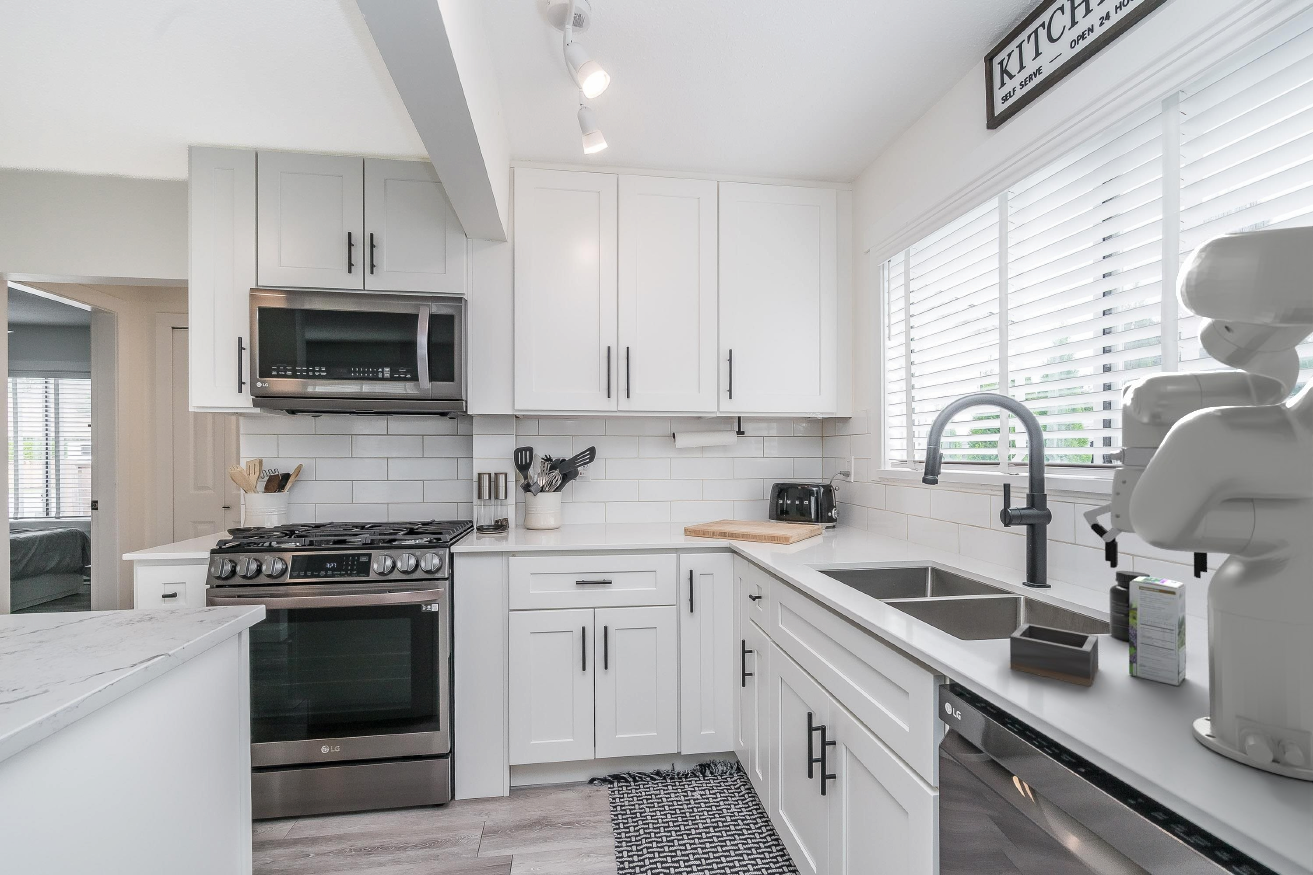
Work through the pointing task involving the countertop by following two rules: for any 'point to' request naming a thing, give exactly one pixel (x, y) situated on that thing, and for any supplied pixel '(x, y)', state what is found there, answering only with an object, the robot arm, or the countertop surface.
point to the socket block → (1054, 653)
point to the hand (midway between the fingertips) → (1154, 571)
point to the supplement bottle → (1121, 603)
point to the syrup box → (1157, 630)
